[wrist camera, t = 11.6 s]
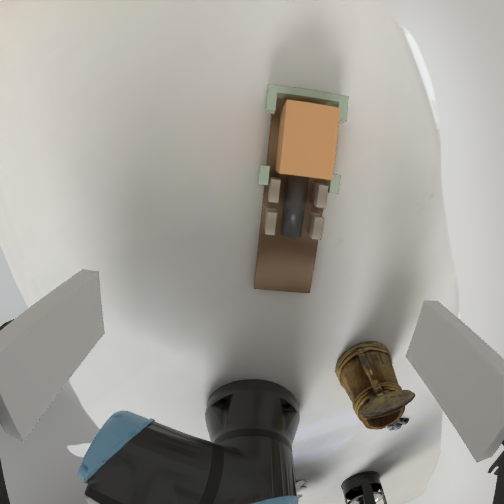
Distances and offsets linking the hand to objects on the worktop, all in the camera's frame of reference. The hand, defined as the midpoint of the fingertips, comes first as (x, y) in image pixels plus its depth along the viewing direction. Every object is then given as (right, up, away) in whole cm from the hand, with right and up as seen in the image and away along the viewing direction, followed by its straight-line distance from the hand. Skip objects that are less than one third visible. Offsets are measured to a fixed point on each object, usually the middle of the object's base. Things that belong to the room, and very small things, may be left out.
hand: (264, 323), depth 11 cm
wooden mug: (+16, -13, +32) cm, 38 cm away
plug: (+5, +12, +23) cm, 26 cm away
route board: (+4, +9, +25) cm, 27 cm away
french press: (+25, -51, +44) cm, 72 cm away
